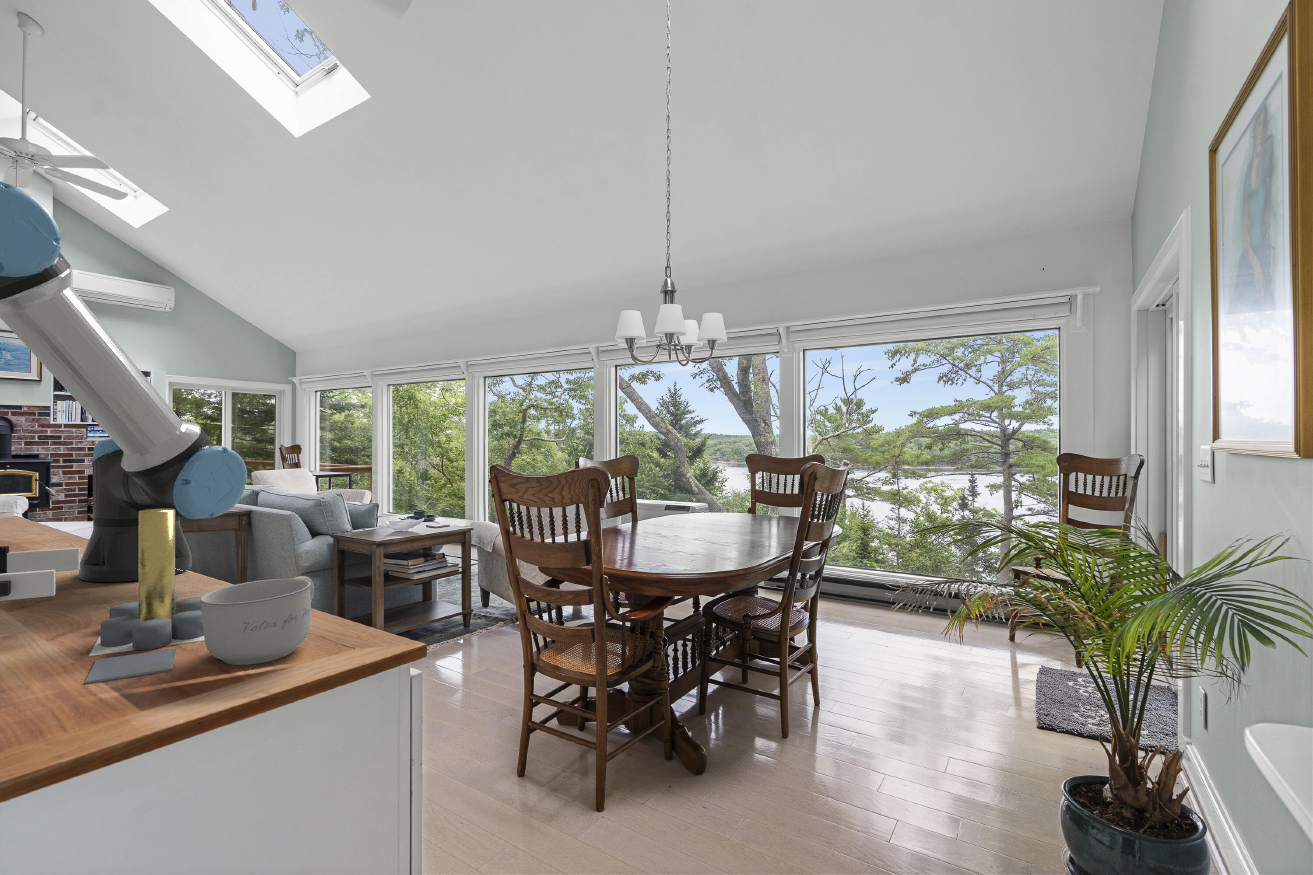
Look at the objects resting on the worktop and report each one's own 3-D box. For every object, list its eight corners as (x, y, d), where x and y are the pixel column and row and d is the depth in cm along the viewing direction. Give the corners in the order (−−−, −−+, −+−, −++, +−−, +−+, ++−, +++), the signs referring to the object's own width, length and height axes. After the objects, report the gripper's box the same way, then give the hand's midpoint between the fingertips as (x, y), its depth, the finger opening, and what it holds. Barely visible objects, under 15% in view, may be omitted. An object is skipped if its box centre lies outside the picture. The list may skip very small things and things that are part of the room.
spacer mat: (110, 620, 86) (110, 598, 86) (211, 608, 92) (211, 588, 92) (87, 661, 72) (87, 635, 72) (208, 644, 78) (208, 620, 78)
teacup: (247, 681, 68) (248, 604, 67) (175, 665, 71) (176, 593, 71) (352, 640, 81) (353, 576, 80) (287, 628, 84) (288, 567, 84)
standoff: (140, 628, 82) (140, 509, 81) (175, 624, 84) (176, 507, 83) (136, 636, 79) (137, 513, 78) (173, 632, 81) (174, 511, 80)
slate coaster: (96, 664, 71) (96, 659, 71) (176, 653, 75) (176, 648, 75) (85, 687, 65) (85, 681, 65) (172, 673, 69) (172, 668, 69)
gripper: (-154, 599, 75) (87, 578, 87) (-302, 671, 54) (41, 631, 66) (-155, 534, 75) (87, 522, 87) (-304, 582, 54) (41, 557, 66)
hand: (68, 569), depth 76 cm, fingers open, 13 cm apart
